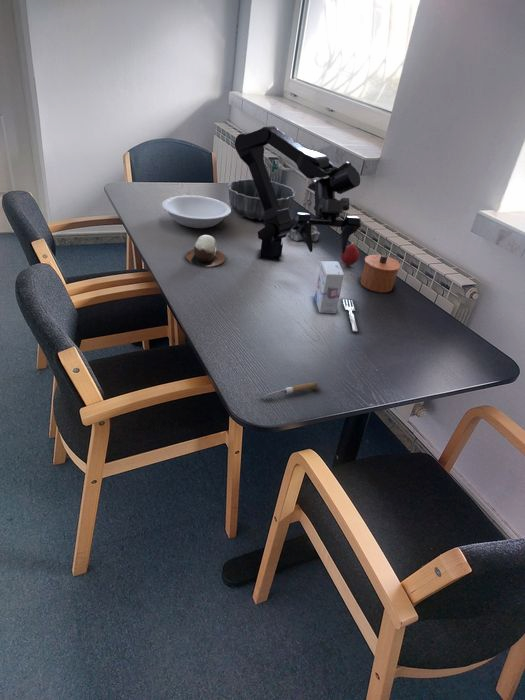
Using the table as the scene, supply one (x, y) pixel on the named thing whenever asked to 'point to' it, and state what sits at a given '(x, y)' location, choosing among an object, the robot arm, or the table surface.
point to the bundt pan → (256, 198)
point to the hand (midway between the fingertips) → (327, 252)
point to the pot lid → (382, 262)
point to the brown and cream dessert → (205, 252)
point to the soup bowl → (196, 210)
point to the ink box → (329, 286)
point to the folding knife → (292, 389)
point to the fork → (351, 314)
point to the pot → (378, 279)
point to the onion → (350, 254)
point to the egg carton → (298, 237)
